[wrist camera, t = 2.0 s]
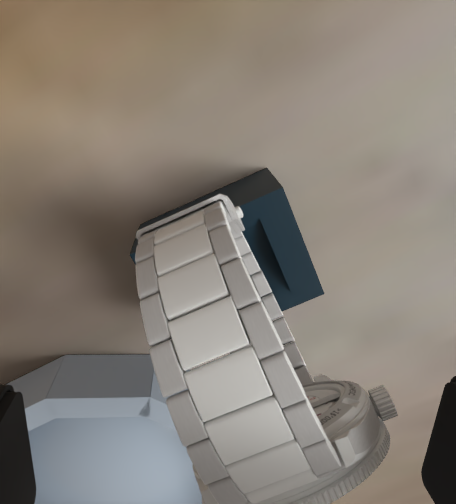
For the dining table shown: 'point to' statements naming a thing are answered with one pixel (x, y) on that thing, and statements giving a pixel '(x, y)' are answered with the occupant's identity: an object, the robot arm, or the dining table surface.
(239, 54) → the dining table surface
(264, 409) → the watch
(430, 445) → the robot arm
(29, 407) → the dish
